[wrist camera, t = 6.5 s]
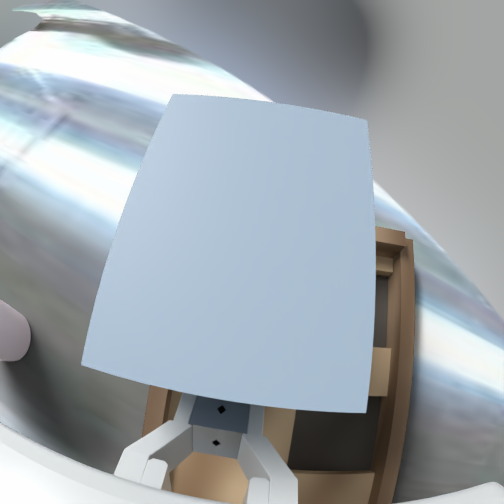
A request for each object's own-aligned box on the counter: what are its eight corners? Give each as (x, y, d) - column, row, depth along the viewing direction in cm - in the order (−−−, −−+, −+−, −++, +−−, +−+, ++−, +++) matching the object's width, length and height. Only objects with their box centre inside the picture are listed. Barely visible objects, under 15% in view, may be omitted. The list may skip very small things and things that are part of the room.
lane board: (399, 252, 21) (417, 234, 19) (364, 542, 13) (380, 560, 11) (195, 221, 22) (189, 197, 19) (141, 522, 14) (126, 540, 11)
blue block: (302, 262, 20) (366, 120, 9) (286, 394, 17) (366, 413, 6) (205, 248, 20) (173, 94, 9) (180, 378, 17) (81, 364, 6)
